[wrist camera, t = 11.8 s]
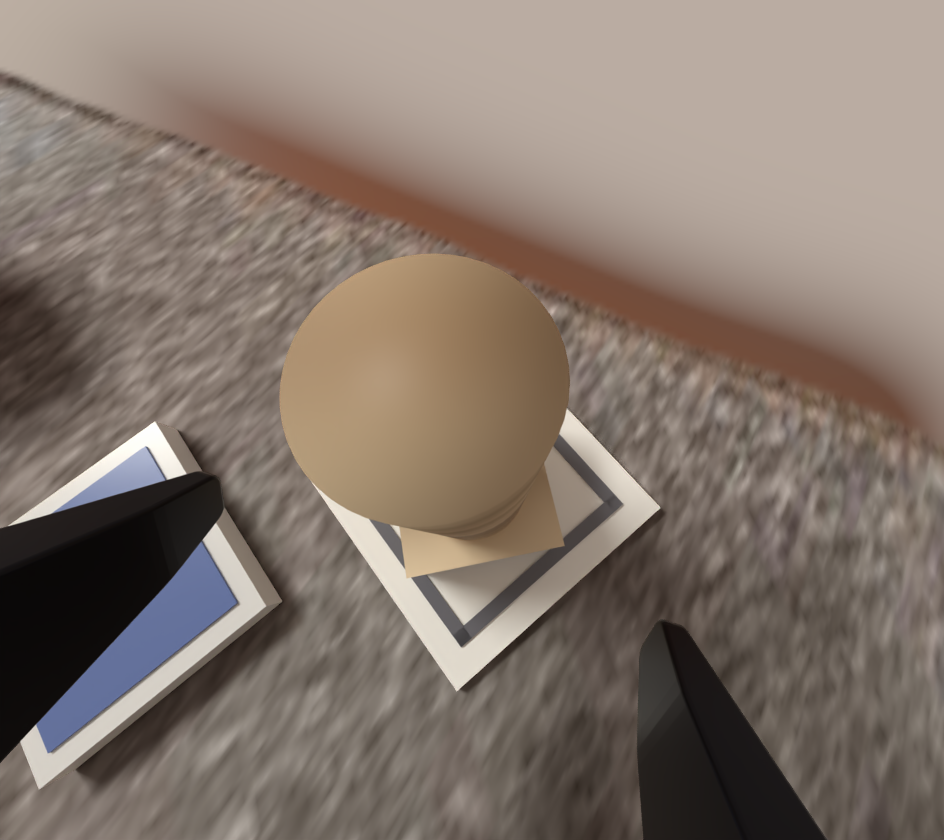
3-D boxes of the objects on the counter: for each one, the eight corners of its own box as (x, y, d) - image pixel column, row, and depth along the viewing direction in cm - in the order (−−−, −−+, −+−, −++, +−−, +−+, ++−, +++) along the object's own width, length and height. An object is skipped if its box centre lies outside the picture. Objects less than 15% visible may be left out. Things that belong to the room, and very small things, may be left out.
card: (657, 508, 16) (661, 507, 16) (457, 688, 15) (456, 691, 15) (492, 332, 19) (492, 328, 19) (308, 474, 18) (304, 473, 17)
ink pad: (282, 601, 16) (264, 606, 15) (74, 770, 15) (36, 791, 14) (176, 428, 19) (153, 420, 17) (-13, 564, 17) (-52, 566, 16)
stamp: (553, 546, 16) (690, 542, 4) (423, 572, 16) (229, 637, 4) (522, 421, 17) (568, 180, 6) (404, 446, 17) (221, 251, 6)
